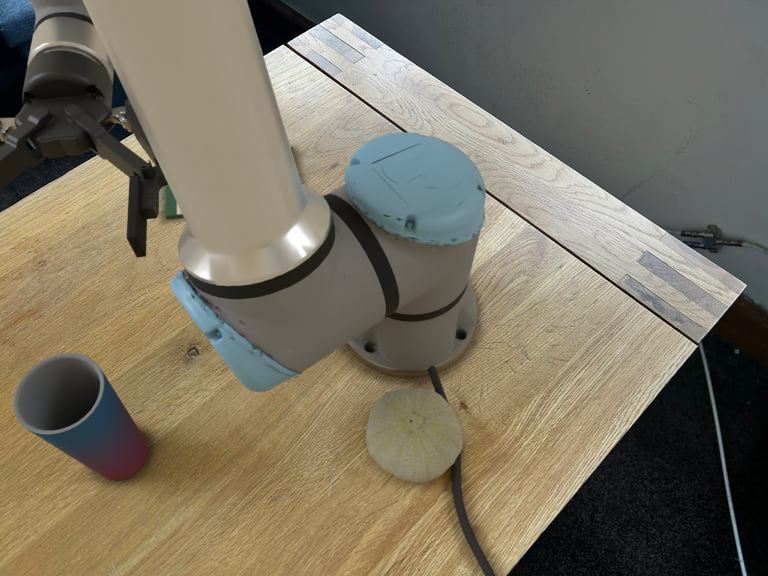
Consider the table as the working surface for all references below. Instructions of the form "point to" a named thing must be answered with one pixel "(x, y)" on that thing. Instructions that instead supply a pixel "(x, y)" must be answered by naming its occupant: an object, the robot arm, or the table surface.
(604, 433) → the table surface
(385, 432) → the sea urchin shell
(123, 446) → the cup
